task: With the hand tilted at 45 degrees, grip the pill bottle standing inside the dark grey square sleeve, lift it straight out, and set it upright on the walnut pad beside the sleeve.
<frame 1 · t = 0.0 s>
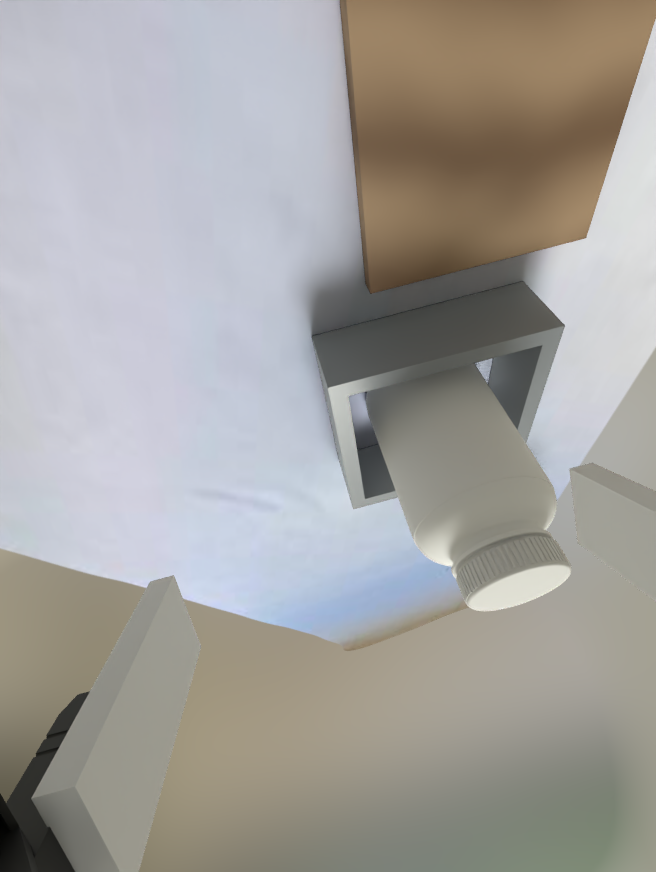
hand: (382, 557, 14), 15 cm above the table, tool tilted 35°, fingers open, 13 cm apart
sleeve: (416, 386, 31), on the table
pad: (485, 130, 20), on the table
pill bottle: (415, 383, 31), on the table
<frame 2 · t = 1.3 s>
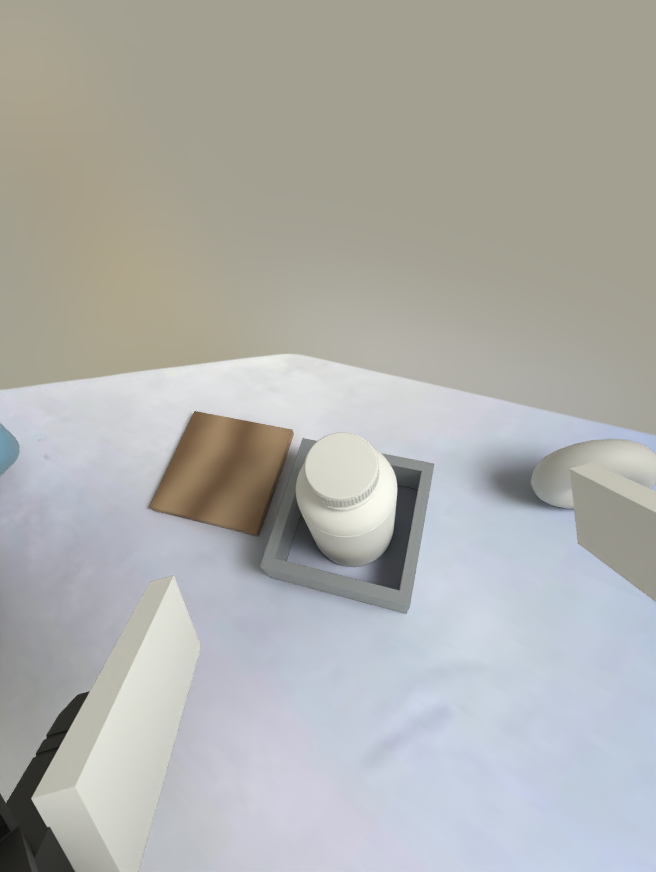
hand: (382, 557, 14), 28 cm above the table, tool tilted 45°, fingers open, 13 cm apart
sleeve: (352, 528, 44), on the table
pad: (225, 471, 48), on the table
pill bottle: (352, 528, 44), on the table
donut: (569, 497, 43), on the table
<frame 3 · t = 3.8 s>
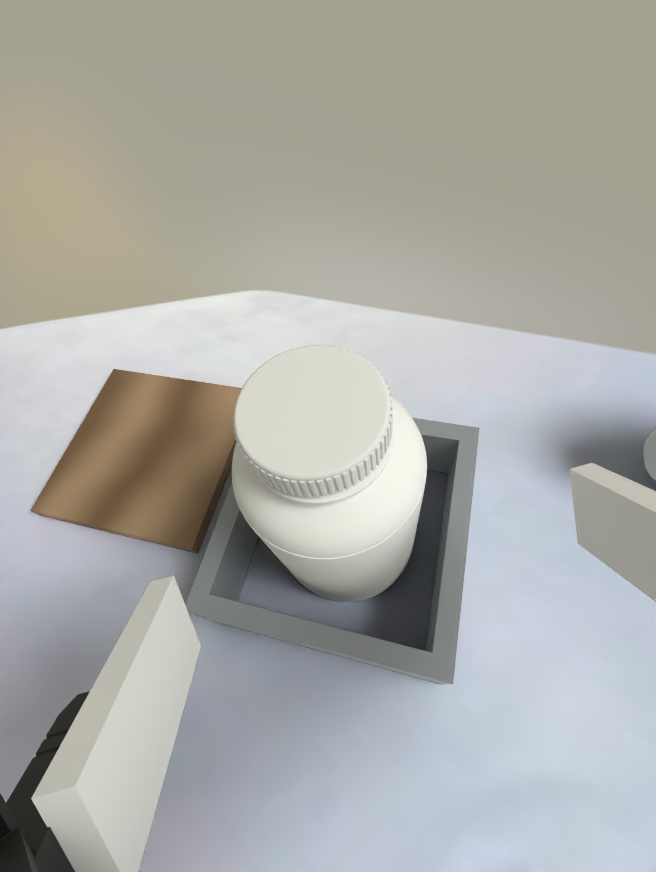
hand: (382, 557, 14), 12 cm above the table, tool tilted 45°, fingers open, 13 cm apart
sleeve: (347, 537, 27), on the table
pad: (154, 453, 32), on the table
pill bottle: (347, 538, 27), on the table
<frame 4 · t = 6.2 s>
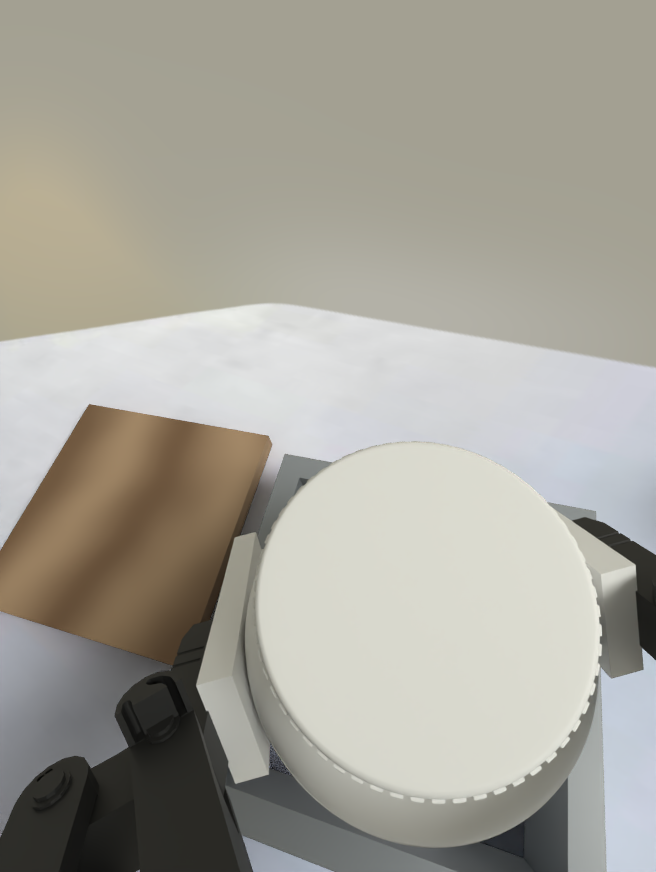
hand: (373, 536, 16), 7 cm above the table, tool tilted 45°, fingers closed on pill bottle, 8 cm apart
sleeve: (398, 652, 20), on the table
pad: (137, 519, 24), on the table
pill bottle: (398, 653, 20), on the table, touching gripper
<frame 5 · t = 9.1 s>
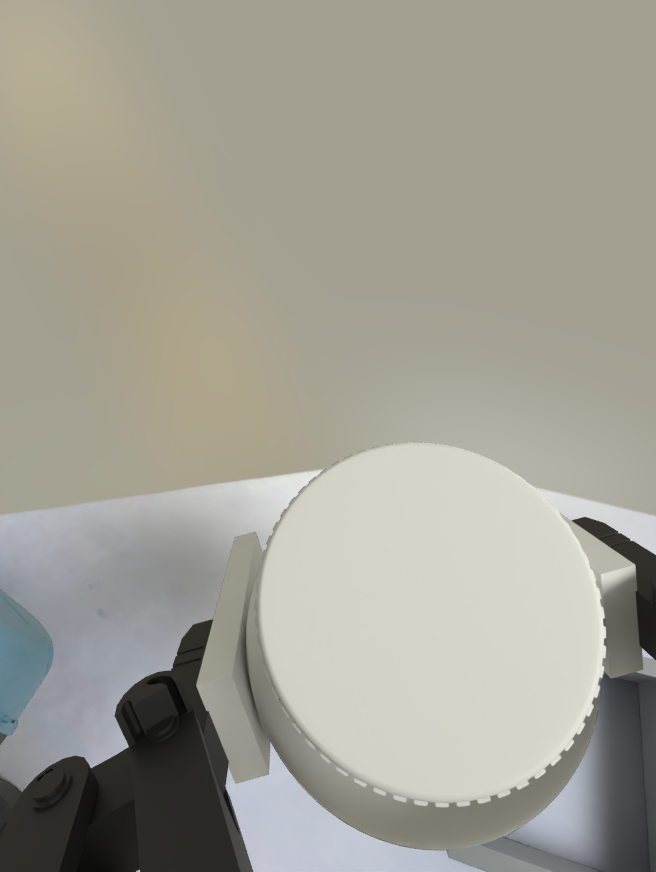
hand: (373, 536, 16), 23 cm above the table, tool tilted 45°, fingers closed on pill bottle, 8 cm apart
sleeve: (552, 749, 30), on the table
pill bottle: (399, 653, 20), point 16 cm above the table, touching gripper
when the fingers open (9 cm above the table, at t = 12.5 s): pill bottle drops 1 cm, resting on pad.
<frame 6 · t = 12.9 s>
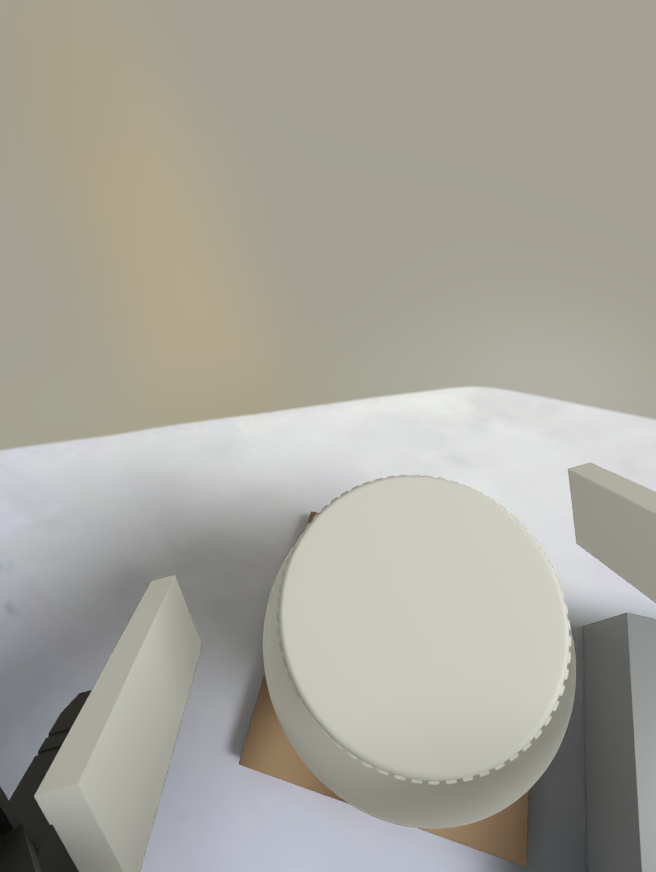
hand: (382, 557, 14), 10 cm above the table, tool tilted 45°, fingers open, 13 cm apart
pad: (397, 656, 22), on the table
pill bottle: (399, 656, 21), point 1 cm above the table, touching pad
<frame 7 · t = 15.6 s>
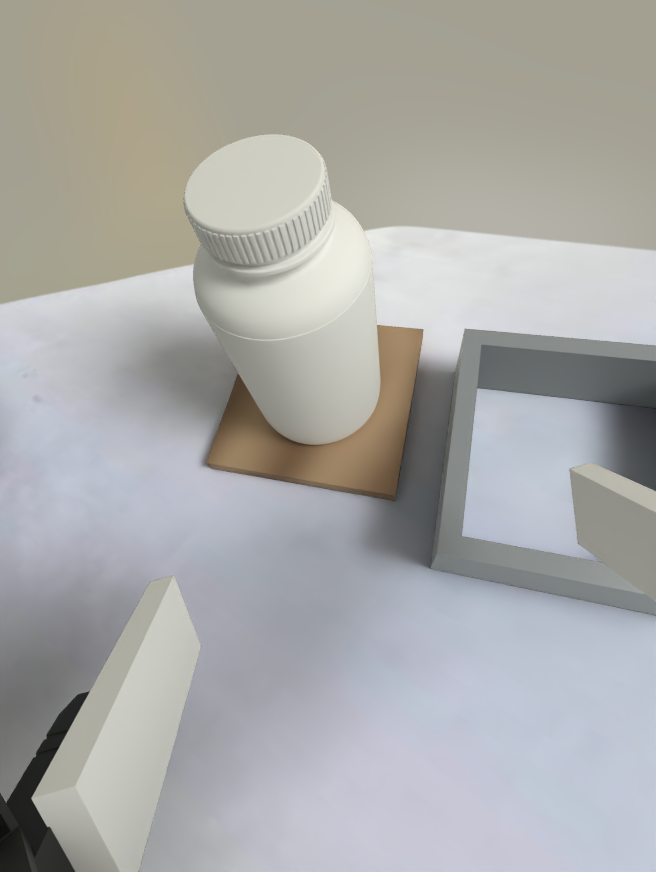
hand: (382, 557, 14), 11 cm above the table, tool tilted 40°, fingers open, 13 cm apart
sleeve: (558, 478, 25), on the table
pad: (321, 401, 30), on the table
pill bottle: (320, 395, 29), point 1 cm above the table, touching pad
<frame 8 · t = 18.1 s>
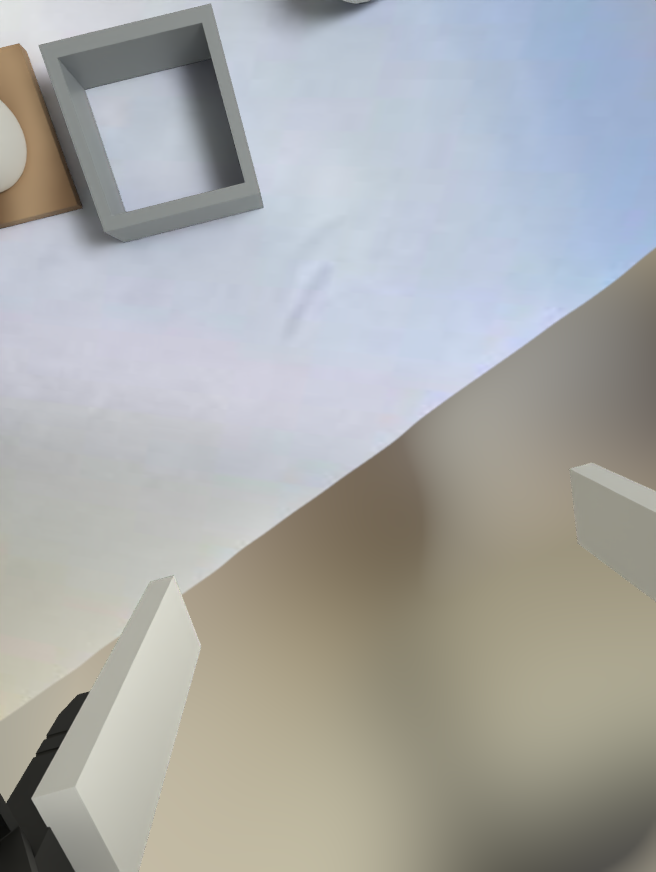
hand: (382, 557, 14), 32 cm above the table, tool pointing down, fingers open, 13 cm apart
sleeve: (170, 146, 38), on the table
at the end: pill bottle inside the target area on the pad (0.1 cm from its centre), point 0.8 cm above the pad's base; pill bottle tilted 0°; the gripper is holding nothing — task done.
